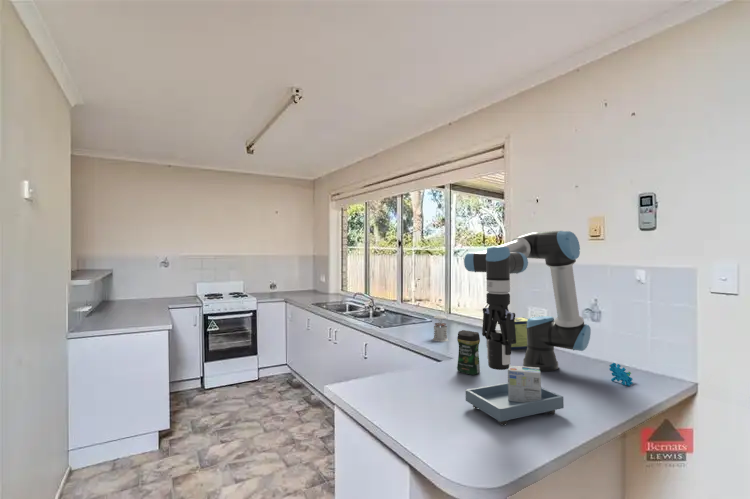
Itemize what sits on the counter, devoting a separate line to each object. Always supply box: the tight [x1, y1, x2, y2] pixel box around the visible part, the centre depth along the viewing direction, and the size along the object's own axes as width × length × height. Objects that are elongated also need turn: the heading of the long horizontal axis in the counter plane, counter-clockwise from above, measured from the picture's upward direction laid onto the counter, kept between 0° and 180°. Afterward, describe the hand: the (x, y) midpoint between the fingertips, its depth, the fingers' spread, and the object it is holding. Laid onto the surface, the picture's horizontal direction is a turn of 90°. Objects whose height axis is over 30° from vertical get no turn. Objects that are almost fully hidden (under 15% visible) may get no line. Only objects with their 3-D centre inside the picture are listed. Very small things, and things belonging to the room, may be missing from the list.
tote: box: [465, 382, 564, 426], centre depth 132 cm, size 18×26×6 cm
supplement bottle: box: [487, 329, 510, 371], centre depth 130 cm, size 7×7×12 cm
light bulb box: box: [507, 364, 542, 403], centre depth 134 cm, size 11×7×11 cm, turn 71°
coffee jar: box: [456, 329, 481, 376], centre depth 174 cm, size 10×8×19 cm
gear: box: [609, 362, 634, 387], centre depth 160 cm, size 11×6×10 cm
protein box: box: [504, 316, 529, 351], centre depth 218 cm, size 10×16×16 cm
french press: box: [432, 298, 449, 343], centre depth 238 cm, size 10×12×25 cm
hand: (498, 361), depth 130 cm, fingers closed on supplement bottle, 7 cm apart
